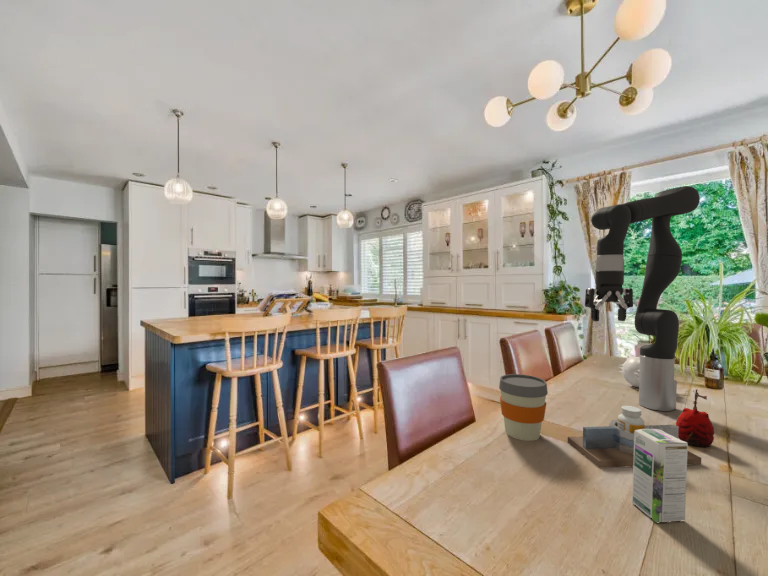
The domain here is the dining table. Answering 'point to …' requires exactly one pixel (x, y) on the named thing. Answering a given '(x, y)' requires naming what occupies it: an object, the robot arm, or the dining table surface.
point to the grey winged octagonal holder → (618, 436)
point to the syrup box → (659, 475)
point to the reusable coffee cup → (523, 405)
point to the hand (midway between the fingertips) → (608, 321)
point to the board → (614, 455)
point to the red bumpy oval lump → (695, 426)
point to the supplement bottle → (630, 419)
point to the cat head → (631, 370)
